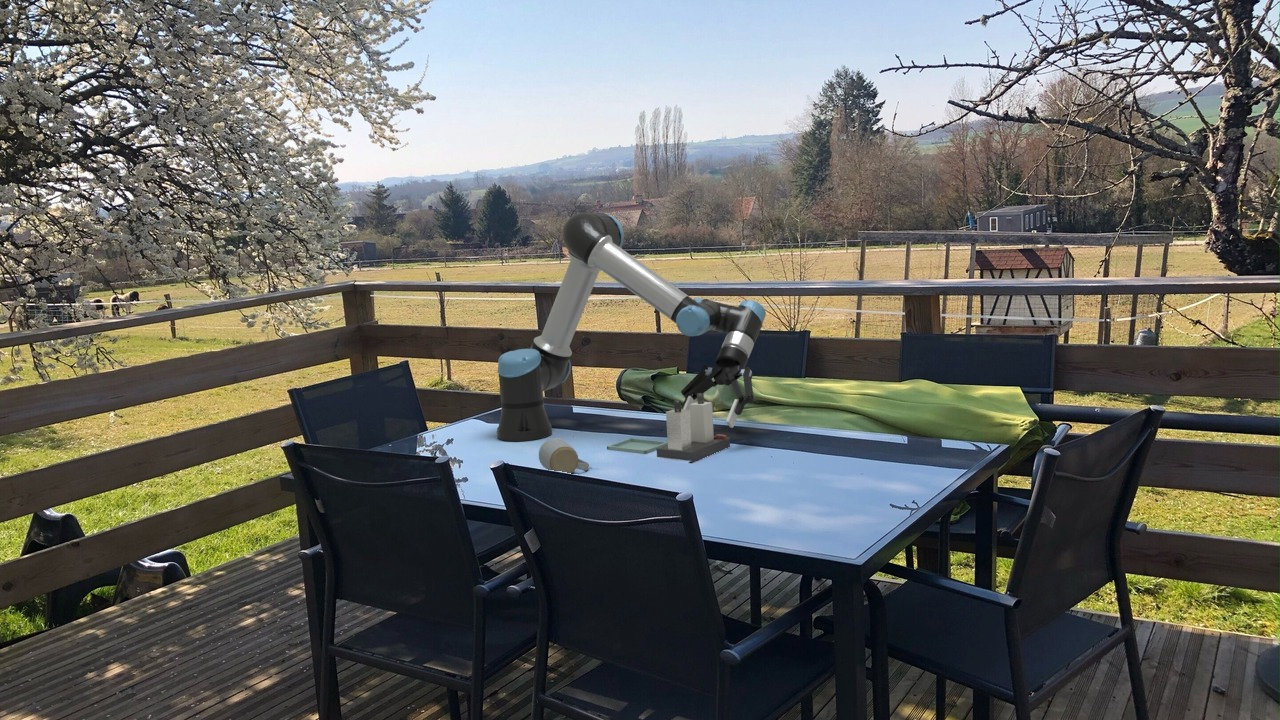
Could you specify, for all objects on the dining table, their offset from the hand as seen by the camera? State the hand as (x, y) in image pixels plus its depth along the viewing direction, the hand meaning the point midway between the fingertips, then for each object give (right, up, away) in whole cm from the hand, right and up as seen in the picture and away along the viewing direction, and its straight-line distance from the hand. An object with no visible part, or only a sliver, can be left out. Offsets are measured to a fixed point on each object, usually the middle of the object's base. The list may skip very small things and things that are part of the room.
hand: (705, 422), depth 219 cm
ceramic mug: (-33, -11, -14) cm, 38 cm away
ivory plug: (-1, -6, 0) cm, 6 cm away
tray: (-17, -7, +4) cm, 18 cm away
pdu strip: (-3, -7, -3) cm, 8 cm away
